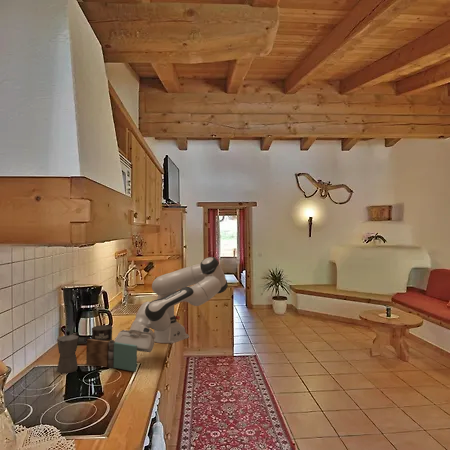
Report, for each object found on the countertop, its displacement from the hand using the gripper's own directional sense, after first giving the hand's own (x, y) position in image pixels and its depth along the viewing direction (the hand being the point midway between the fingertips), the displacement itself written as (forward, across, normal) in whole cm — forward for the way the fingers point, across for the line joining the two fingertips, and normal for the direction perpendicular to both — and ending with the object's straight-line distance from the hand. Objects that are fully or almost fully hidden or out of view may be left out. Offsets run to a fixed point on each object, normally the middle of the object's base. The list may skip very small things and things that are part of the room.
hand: (127, 357), depth 171 cm
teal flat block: (+4, -2, +2) cm, 5 cm away
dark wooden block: (+4, -14, +3) cm, 15 cm away
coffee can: (-5, -23, +13) cm, 27 cm away
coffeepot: (+10, -26, -3) cm, 28 cm away
